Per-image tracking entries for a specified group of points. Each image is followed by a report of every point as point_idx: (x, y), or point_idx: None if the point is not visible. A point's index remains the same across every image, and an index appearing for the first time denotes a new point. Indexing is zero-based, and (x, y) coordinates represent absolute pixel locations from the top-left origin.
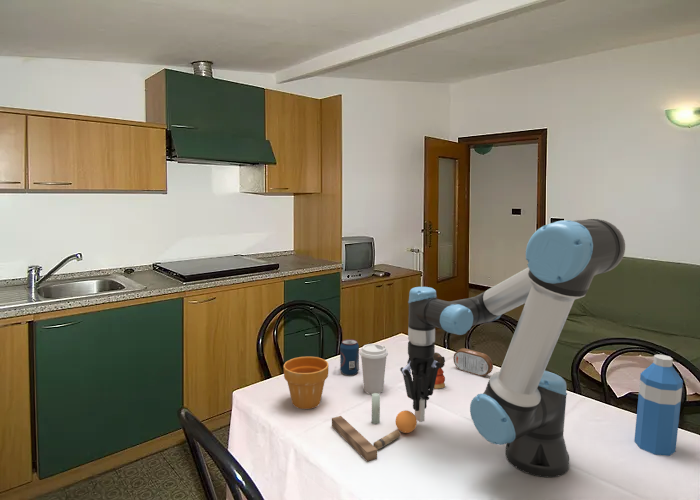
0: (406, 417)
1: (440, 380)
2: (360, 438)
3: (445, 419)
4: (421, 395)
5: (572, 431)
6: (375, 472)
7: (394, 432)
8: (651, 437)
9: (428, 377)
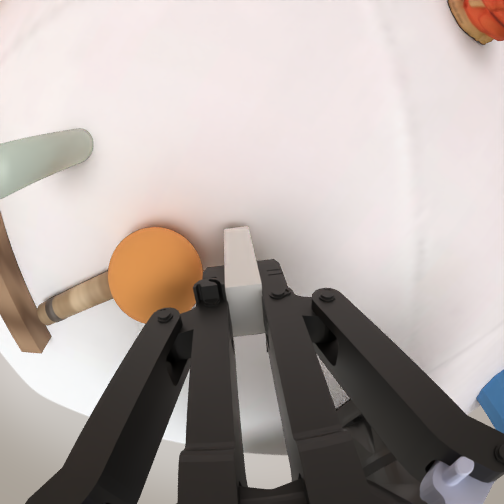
0: (138, 320)
1: (494, 35)
2: (2, 295)
3: (361, 231)
4: (264, 315)
5: (487, 351)
6: (48, 367)
7: (98, 297)
8: (487, 409)
9: (377, 383)
